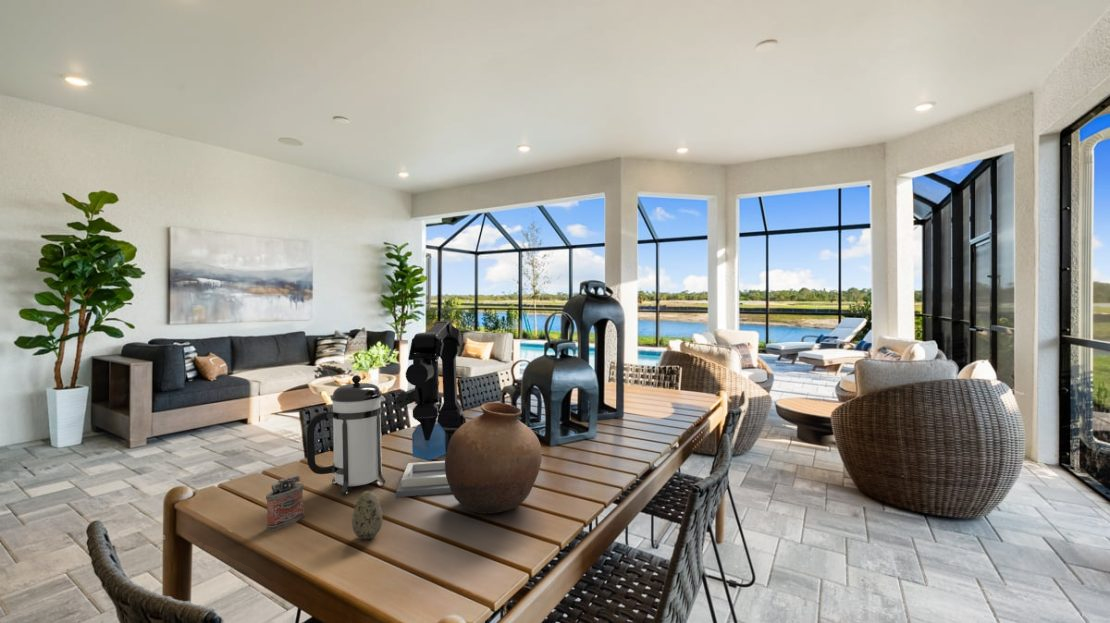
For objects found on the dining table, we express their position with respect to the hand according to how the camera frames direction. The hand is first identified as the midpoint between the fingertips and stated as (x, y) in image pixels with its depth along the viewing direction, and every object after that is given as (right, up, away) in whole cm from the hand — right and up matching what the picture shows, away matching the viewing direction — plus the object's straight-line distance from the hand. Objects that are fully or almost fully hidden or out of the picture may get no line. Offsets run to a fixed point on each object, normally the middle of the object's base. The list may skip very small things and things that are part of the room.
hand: (428, 435), depth 133 cm
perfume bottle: (0, -6, 0) cm, 6 cm away
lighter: (-26, -14, -23) cm, 38 cm away
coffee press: (-20, -13, -2) cm, 24 cm away
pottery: (+20, -13, -17) cm, 29 cm away
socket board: (0, -13, 0) cm, 13 cm away
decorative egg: (-5, -14, -31) cm, 34 cm away
